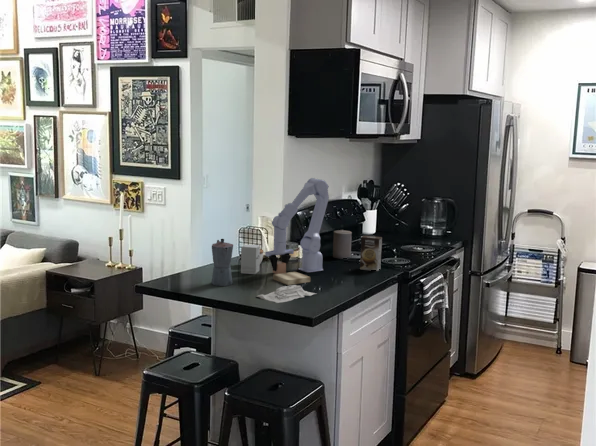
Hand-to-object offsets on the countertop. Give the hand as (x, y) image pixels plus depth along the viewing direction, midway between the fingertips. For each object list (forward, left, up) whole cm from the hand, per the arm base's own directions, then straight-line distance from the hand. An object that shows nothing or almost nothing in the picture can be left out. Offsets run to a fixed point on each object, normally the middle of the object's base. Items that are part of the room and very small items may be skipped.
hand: (279, 270), depth 291 cm
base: (+3, +15, -1) cm, 15 cm away
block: (0, 0, -1) cm, 1 cm away
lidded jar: (+3, -20, -2) cm, 20 cm away
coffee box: (-44, +14, -2) cm, 46 cm away
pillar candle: (-50, -16, -2) cm, 53 cm away
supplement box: (+11, -8, -2) cm, 14 cm away
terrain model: (+19, +35, -2) cm, 40 cm away
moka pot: (+33, +5, -2) cm, 33 cm away
